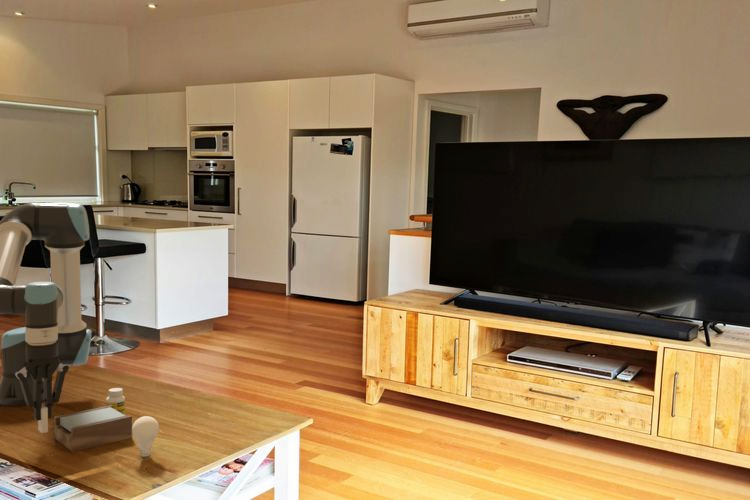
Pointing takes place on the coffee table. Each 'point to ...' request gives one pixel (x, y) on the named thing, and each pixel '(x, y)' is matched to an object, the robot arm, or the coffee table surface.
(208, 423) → the coffee table surface
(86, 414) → the cover plate
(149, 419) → the light bulb
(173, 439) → the coffee table surface
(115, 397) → the supplement bottle
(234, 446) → the coffee table surface
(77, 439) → the walnut box
